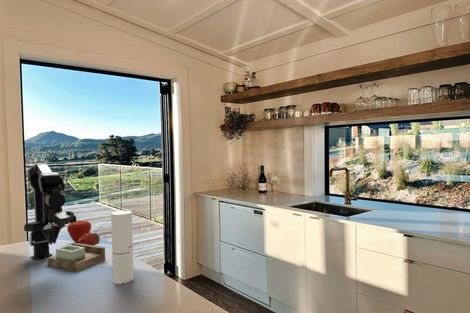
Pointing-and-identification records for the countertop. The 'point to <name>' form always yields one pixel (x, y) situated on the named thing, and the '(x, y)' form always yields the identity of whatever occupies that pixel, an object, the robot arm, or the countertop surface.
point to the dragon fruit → (89, 239)
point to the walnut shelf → (91, 257)
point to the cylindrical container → (122, 246)
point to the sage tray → (70, 253)
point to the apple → (78, 229)
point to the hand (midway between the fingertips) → (52, 244)
